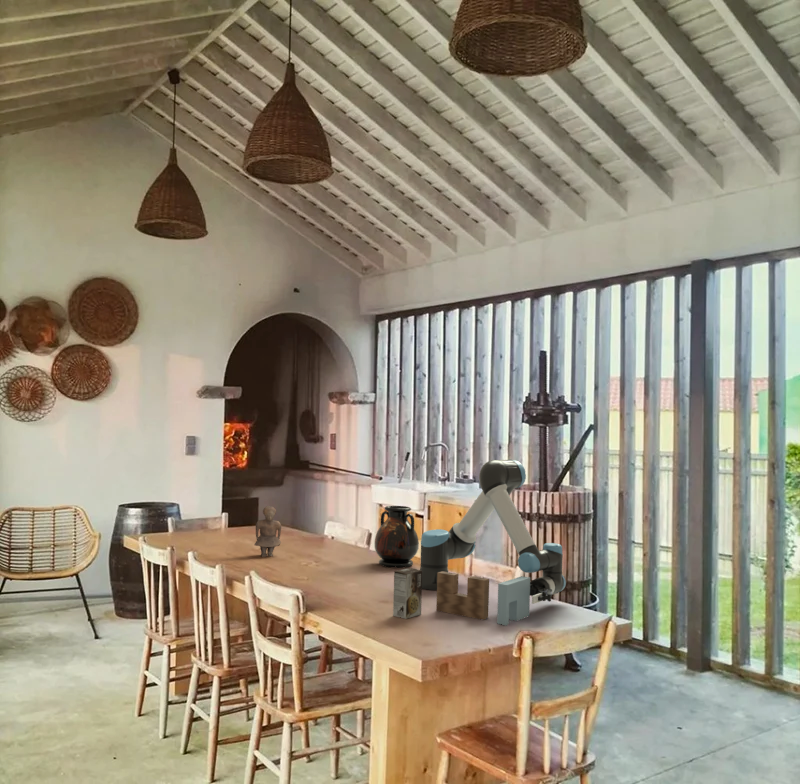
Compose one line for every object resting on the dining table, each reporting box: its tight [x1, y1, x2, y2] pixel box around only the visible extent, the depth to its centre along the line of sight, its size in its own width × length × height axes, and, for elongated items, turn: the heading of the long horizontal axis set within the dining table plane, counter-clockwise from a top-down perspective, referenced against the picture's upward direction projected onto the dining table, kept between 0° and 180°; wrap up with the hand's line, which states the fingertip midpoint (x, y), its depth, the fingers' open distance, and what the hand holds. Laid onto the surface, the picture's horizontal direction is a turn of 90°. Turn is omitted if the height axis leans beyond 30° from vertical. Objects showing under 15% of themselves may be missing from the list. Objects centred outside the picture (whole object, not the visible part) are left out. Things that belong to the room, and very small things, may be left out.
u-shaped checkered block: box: [436, 571, 490, 621], centre depth 290 cm, size 20×4×14 cm, turn 54°
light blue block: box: [496, 575, 531, 626], centre depth 285 cm, size 4×18×14 cm, turn 144°
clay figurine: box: [254, 505, 282, 558], centre depth 396 cm, size 13×10×25 cm
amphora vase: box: [374, 505, 420, 569], centre depth 383 cm, size 22×22×28 cm
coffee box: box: [392, 567, 423, 620], centre depth 286 cm, size 9×6×16 cm
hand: (515, 597), depth 286 cm, fingers open, 13 cm apart
